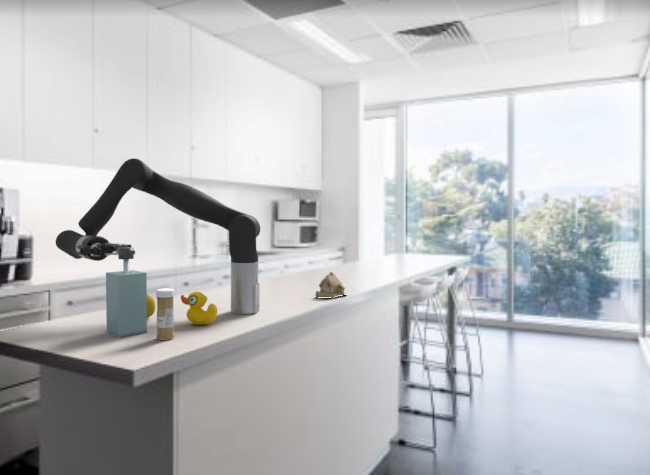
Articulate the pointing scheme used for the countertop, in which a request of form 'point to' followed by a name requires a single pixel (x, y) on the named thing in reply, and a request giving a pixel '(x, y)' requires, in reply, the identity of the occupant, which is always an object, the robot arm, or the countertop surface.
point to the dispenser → (126, 303)
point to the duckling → (199, 309)
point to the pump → (126, 257)
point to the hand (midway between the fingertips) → (115, 251)
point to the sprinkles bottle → (165, 314)
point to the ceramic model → (330, 287)
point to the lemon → (150, 306)
